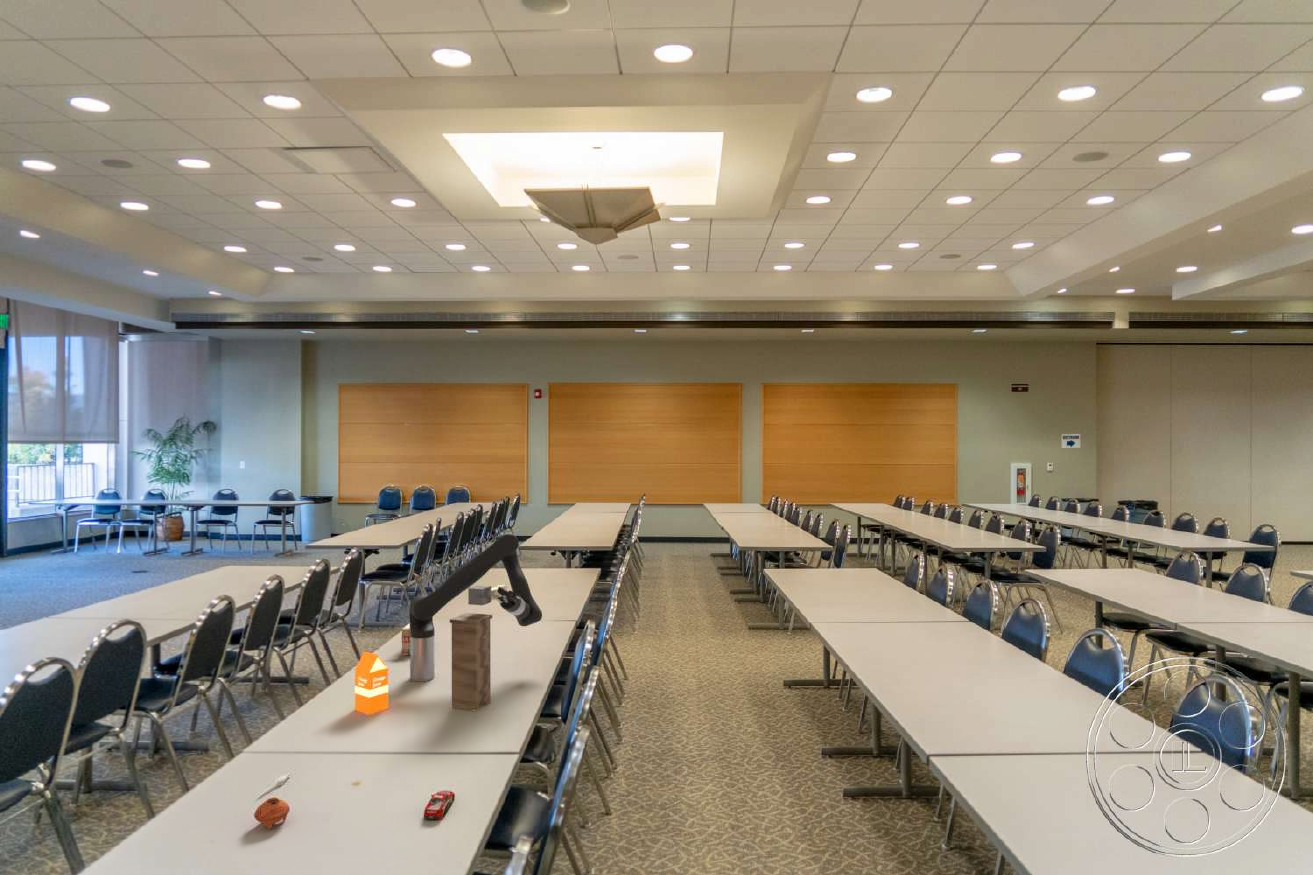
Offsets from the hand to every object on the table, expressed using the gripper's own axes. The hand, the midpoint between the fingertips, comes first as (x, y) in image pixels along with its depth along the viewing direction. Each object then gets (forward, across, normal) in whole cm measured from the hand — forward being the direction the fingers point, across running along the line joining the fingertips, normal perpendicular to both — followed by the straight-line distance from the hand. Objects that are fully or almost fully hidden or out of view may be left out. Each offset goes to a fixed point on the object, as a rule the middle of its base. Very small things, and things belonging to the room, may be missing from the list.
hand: (494, 589), depth 293 cm
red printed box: (-56, -65, +14) cm, 87 cm away
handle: (+1, 0, +5) cm, 5 cm away
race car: (+57, +34, +78) cm, 102 cm away
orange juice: (+7, -32, +49) cm, 59 cm away
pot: (+74, -2, +88) cm, 115 cm away
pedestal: (-5, 0, +42) cm, 42 cm away
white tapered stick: (+60, -17, +80) cm, 101 cm away
